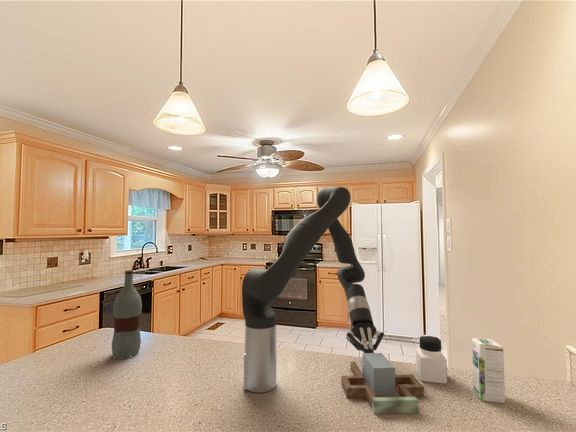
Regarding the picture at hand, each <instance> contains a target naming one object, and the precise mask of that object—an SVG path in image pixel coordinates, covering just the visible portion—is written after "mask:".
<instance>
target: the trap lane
mask: <svg viewBox="0 0 576 432" xmlns="http://www.w3.org/2000/svg"><path fill="white" fill-rule="evenodd" d="M350 371H351V374H353V375H340V377H341V379H340V385H341V387H342V389H343V392H344V394H345V396H346V398H347V399H359V398H360V399H361V398H365V399H366V401H367V402H368V405H369V407H370V409H371V410H372V413H373V414H374V415H375V414H418V413H419V400H418V398H417V397H419V398H420V397H421V398H422V397H425V387H424V385H423V384H421V382H420V381H419V380H418V379H417V378H416V377H415V376H414V375H413V374H395V393H397V394H398V396H390V397H389V396H385V397H383V396H381V397H377V395H375V394H374V392H373V391H372V389H371V387H370V386H369V385H368V384H366V381H365V377H364V376H363V371H361V369H360V368H359V366H358V364H357V363H356V361H350Z"/></svg>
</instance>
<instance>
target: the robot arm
mask: <svg viewBox="0 0 576 432" xmlns="http://www.w3.org/2000/svg"><path fill="white" fill-rule="evenodd" d="M316 202H317V207H318V209H317V210H316V211H314V212H311V214H309V215H307V216H305V217H304V218H302V219H300V220H299V221H298V222H297V223H296V224H295V225H294V227H292V229H290V231H289V232H288V234H287V235H286V237H285V238H284V242H283V247H282V251H281V253H280V255H279V256H278V258H277V259H276V260H275V261H274V263H272V264H271V265H270V266H269V267H268V268H267V269H266V268H259V267H256V268H255V267H254V268H250V269H249V270H248V271H247V272H246V273H245V275H244V276H243V279H242V283H241V306H242V307H241V309H242V314H243V316H244V354H243V390H244V391H248V392H252V393H259V394H260V393H267V392H270V391H272V390H274V389H275V388H276V387H277V341H278V340H277V336H278V335H277V331H278V330H277V329H278V328H277V327H278V325H277V323H278V322H277V318H278V317H277V314H276V312H275V311H274V310H273V308H272V307H271V305H270V303H273V302H274V301H276V300H277V299H278V298H279V297H280V295H281V294H282V293H283V291H284V289H285V288H286V286H287V285H288V283H289V281H290V279H291V278H292V276H293V275H294V273H295V272H296V271H297V269H298V268H299V266H300V265H301V263H302V262H303V261H304V259H306V257H307V255H308V254H310V252H311V251H312V250H313V249H314V247H315V246H316V245H317V243H318V242H319V241H320V239H321V238H322V237H323V236H324V234H325V233H326V232H327V230H328V231H329V235H330V237H331V238H332V243H333V246H334V249H335V254H336V257H337V261H338V262H339V263H340V264H349V265H345V266H342V267H340V268H338V269H337V273H336V276H337V280H338V282H339V283H340V285H341V286H342V288H343V290H344V294H345V297H346V301H347V303H346V304H347V313H348V316H349V320H350V325H351V326H350V327H351V329H350V332H347V333H346V337H345V339H346V340H347V342H349V343H350V344H351V345H352V346H353V347H354V348H355V349H356V350H357V351H361V352H363V353H375V352H374V351H377V349H378V347H379V346H380V344H381V342H382V340H383V337H385V333H384V332H383V331H381V332H380V331H378V330H377V328H376V326H375V325H374V320H373V317H372V313H371V309H370V305H369V302H368V299H367V295H366V292H365V289H364V287H363V285H361V284H359V283H362V282H363V281H364V280H365V278H366V274H365V270H364V269H363V266H362V265H361V263H360V261H359V259H358V258H357V256H356V252H355V248H354V247H355V246H354V242H353V240H352V238H351V236H350V234H349V233H348V231H347V230H346V229H345V227H344V226H343V225H342V223H341V221H339V217H340V216H341V215H342V214H343V213H345V211H346V210H347V209H348V208H349V206H350V204H351V192H350V190H349V189H348V188H346V187H345V186H329V187H323V188H320V190H319V191H318V192H317V196H316ZM374 337H375V338H376V340H375V343H374V344H373V339H374Z"/></svg>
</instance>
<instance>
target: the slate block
mask: <svg viewBox="0 0 576 432" xmlns="http://www.w3.org/2000/svg"><path fill="white" fill-rule="evenodd" d="M362 374H363V376H364V377H365V384H366V385H369V386H370V387H371V389H372V391H373V392H374V394H375V396H377V395H396V390H395V375H396V367H395V366H394V365H393V364H392V363H391V361H390V360H389V359H388V358H387V357H386V356H385V355H384V354H383V353H382V352H374V353H364V352H363V353H362Z"/></svg>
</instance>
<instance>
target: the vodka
mask: <svg viewBox="0 0 576 432" xmlns="http://www.w3.org/2000/svg"><path fill="white" fill-rule="evenodd" d="M133 279H134V270H131V269H130V270H125V271H124V284H123V285H124V286H123V287H122V289H120V291H119V293H118V294H117V295H116V297H115V300H114V301H113V307H112V312H113V329H114V330H113V336H112V341H111V352H112V357H113V358H114V357H115V358H114V359H116V358H125V359H128V358H127V357H130V356H133V357H134V355H135V356H137V355H138V354H139V352H140V350H141V343H142V339H141V337H142V336H141V330H140V325H141V319H142V318H141V317H142V309H143V303H142V298H141V297H142V296H141V295H140V294H139V292H138V291H137V289H136V288H135V286H134V283H133V282H134V280H133ZM137 353H138V354H137ZM136 354H137V355H136ZM130 358H131V357H130Z"/></svg>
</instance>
